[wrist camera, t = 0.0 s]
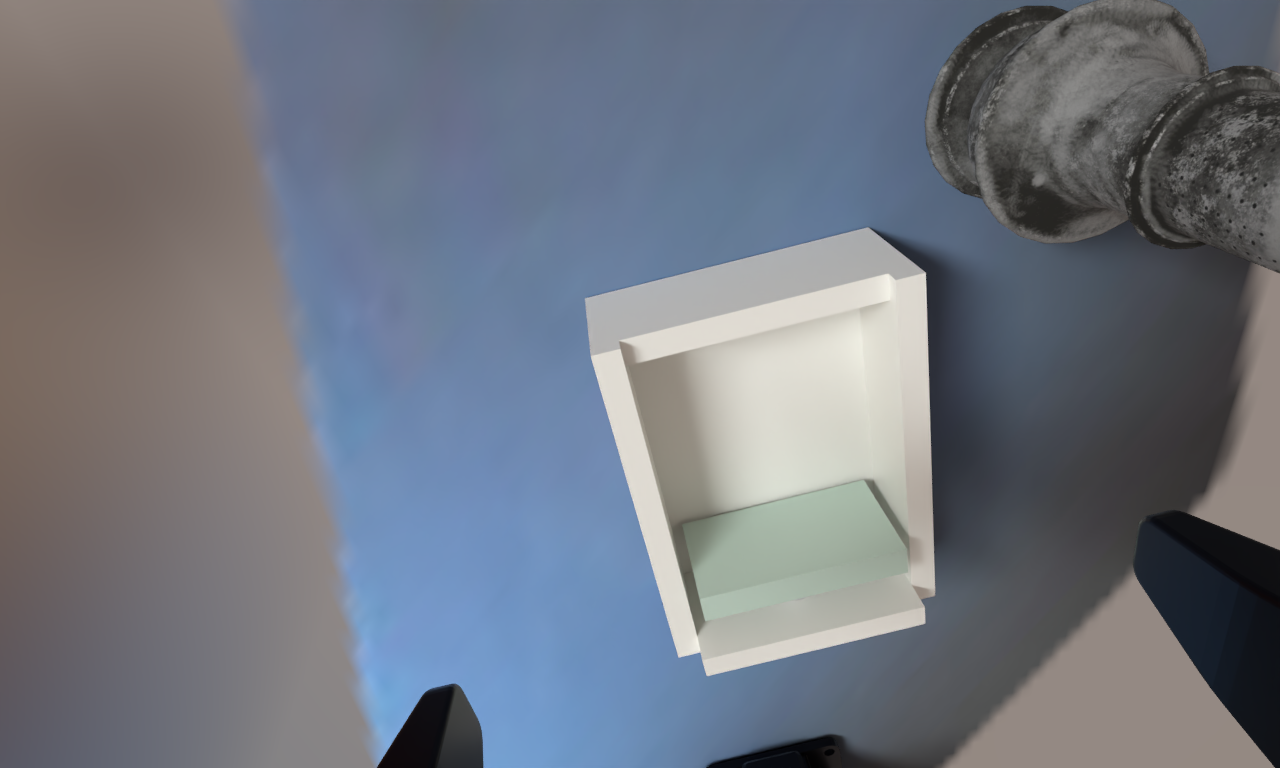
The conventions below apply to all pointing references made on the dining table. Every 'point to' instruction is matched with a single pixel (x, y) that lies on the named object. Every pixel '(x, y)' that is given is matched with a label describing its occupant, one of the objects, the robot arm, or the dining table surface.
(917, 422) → the box
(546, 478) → the dining table surface
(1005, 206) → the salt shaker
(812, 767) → the robot arm
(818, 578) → the bar
